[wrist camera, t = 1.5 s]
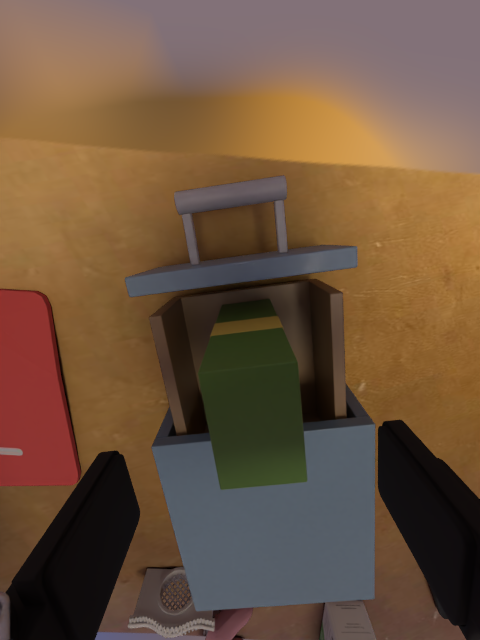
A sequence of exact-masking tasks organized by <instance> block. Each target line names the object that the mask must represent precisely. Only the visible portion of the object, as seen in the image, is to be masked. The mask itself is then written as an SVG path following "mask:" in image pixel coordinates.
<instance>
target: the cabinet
mask: <svg viewBox="0 0 480 640" xmlns="http://www.w3.org/2000/svg"><path fill="white" fill-rule="evenodd" d="M345 384H346V383H345ZM303 429H304V442H305V454H306V466H307V478H308V480H307V482H303V483H292V484H282V485H271V486H260V487H249V488H238V489H228V490H221V489H220V485H219V480H218V475H217V470H216V465H215V460H214V455H213V450H212V444H211V439H210V434H209V433H201V434H192V435H182V436H177V435H176V430H175V426H174V422H173V418H172V413H171V409H170V407H169V409H168V411H167V414H166V416H165V418H164V420H163V423H162V425H161V427H160V429H159V431H158V434H157V436H156V439H155V440H154V443H153V445H152V451H153V455H154V458H155V462H156V466H157V469H158V473H159V477H160V481H161V484H162V488H163V492H164V495H165V499H166V503H167V506H168V510H169V514H170V518H171V521H172V525H173V529H174V532H175V536H176V540H177V543H178V547H179V551H180V555H181V558H182V562H183V566H184V569H185V573H186V577H187V580H188V584H189V588H190V592H191V595H192V599H193V603H194V606H195V610H196V611H209V610H223V609H238V608H252V607H267V606H281V605H295V604H310V603H324V602H339V601H353V600H367V599H374V568H375V423H374V422H373V421H372V419H371V418H370V417H369V415H368V414H367V412H366V411H365V410H364V408H363V407H362V405H361V404H360V403H359V401H358V400H357V398H356V397H355V396H354V394H353V393H352V391H351V390H350V389H349V387H348V386H347V384H346V419H336V420H327V421H317V422H307V423H303Z"/></svg>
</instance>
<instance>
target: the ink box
mask: <svg viewBox="0 0 480 640" xmlns="http://www.w3.org/2000/svg"><path fill="white" fill-rule="evenodd" d="M319 640H377V639H376V636H375V633H374V631H373V628H372V625H371V622H370V619H369V616H368V614H367V611H366V608H365V605H364V602H363V601H357V600H353V601H339V602H325V607H324V613H323V620H322V626H321V632H320V638H319Z"/></svg>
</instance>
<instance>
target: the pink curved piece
mask: <svg viewBox="0 0 480 640" xmlns="http://www.w3.org/2000/svg"><path fill="white" fill-rule="evenodd" d="M252 611H253V607H252V608H238V609H223V610H221V612H220V613H219V614H217V615H216V616H215V629H214V631H213V632H212V631H209V630H204V634H203V635H204V636H205V634H206V639H205V640H243V639H241V638H237V637H236V638H234V636H235V635H236V634H237V633H238V631H239V630H240V629H241V628H242V627H243V626H244V625H245V624H246V623H247V622H248V621H249V619H250V617H251V615H252Z"/></svg>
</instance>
